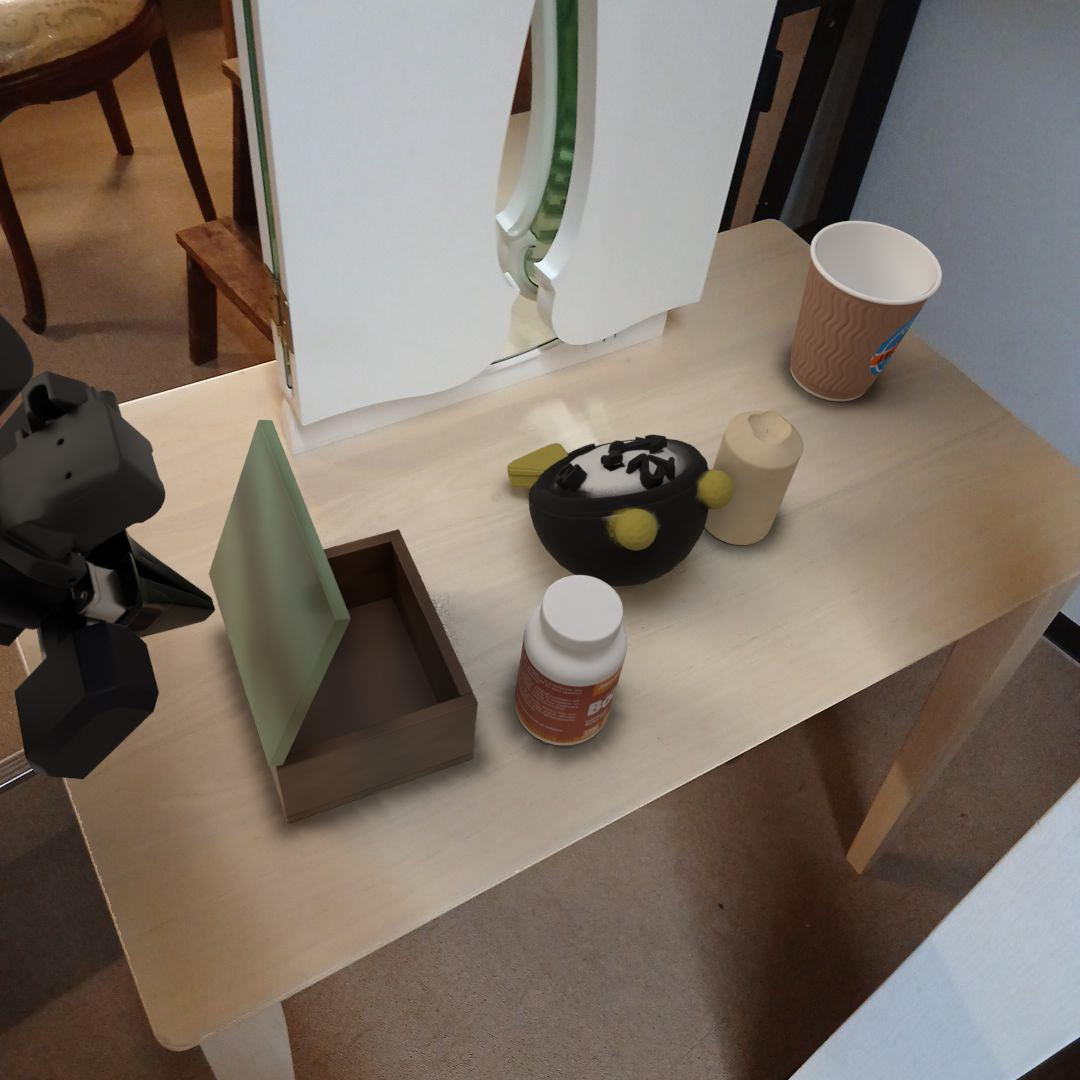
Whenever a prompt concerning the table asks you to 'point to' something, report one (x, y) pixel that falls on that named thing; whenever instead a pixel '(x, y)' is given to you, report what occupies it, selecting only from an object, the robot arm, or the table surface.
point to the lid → (276, 594)
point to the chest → (379, 688)
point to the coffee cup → (858, 305)
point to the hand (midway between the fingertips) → (209, 609)
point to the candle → (754, 474)
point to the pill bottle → (571, 661)
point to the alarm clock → (620, 505)
